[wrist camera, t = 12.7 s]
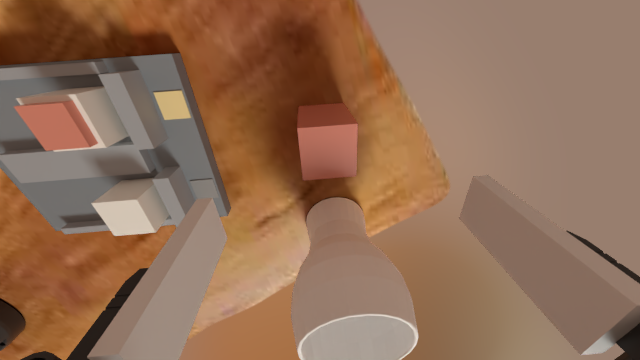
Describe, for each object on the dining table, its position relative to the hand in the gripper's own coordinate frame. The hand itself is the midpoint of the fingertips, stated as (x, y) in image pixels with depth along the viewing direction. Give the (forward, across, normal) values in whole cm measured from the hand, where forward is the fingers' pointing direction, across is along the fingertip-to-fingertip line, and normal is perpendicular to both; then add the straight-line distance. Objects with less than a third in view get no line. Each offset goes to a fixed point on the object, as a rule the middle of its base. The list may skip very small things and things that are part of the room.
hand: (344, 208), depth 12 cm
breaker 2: (+12, -20, -6) cm, 24 cm away
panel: (+14, -21, -1) cm, 25 cm away
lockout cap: (+14, 0, 0) cm, 14 cm away
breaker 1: (+12, -20, +4) cm, 23 cm away
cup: (+14, +1, -13) cm, 19 cm away
